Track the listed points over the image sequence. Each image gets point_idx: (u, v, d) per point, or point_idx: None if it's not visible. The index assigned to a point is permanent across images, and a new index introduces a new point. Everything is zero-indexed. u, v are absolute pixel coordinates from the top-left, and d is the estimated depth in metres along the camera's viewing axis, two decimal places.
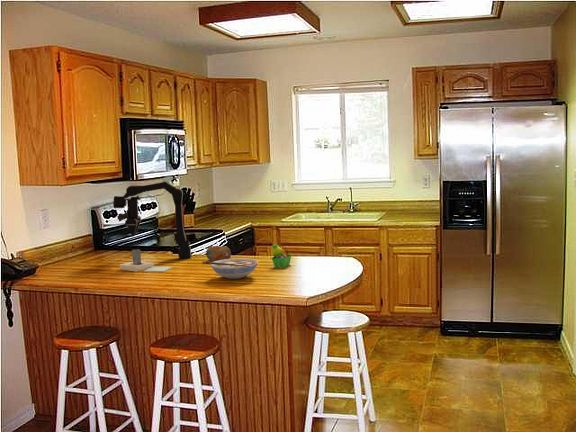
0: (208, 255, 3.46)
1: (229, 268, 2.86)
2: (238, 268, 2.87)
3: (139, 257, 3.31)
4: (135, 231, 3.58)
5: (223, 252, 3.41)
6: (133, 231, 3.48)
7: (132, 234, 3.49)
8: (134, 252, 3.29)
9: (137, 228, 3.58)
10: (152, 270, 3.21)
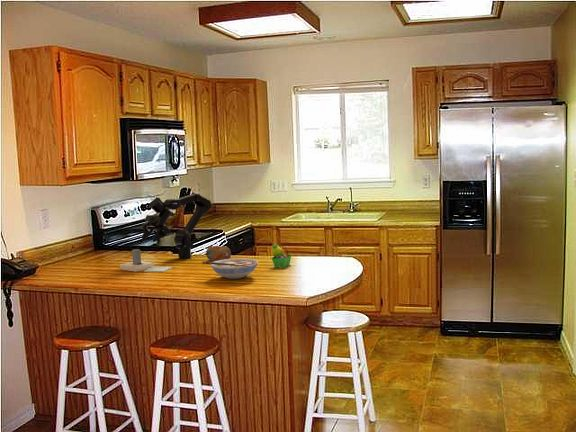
0: (208, 255, 3.46)
1: (229, 268, 2.86)
2: (238, 268, 2.87)
3: (139, 257, 3.31)
4: (144, 238, 3.40)
5: (223, 252, 3.41)
6: (158, 238, 3.35)
7: (155, 240, 3.34)
8: (134, 252, 3.29)
9: None
10: (152, 270, 3.21)
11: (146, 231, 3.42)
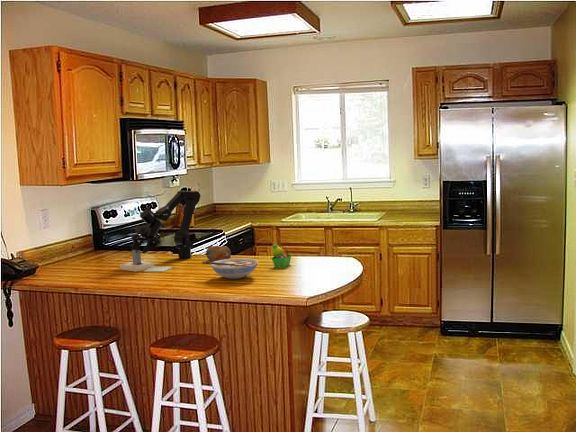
0: (208, 255, 3.46)
1: (229, 268, 2.86)
2: (238, 268, 2.87)
3: (139, 257, 3.31)
4: (134, 249, 3.35)
5: (223, 252, 3.41)
6: (148, 249, 3.30)
7: (144, 251, 3.29)
8: (134, 252, 3.29)
9: None
10: (152, 270, 3.21)
11: (136, 242, 3.37)
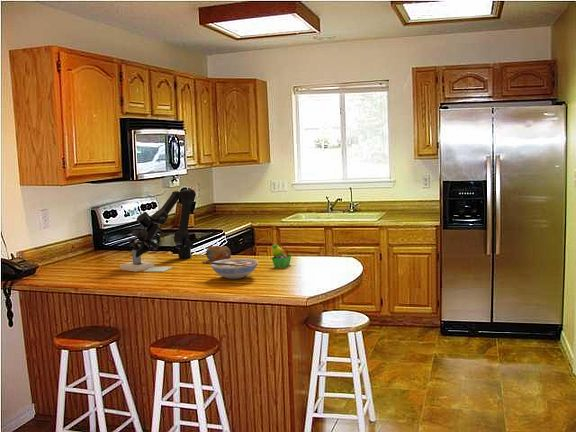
0: (208, 255, 3.46)
1: (229, 268, 2.86)
2: (238, 268, 2.87)
3: (139, 257, 3.31)
4: None
5: (223, 252, 3.41)
6: (141, 253, 3.30)
7: (138, 255, 3.29)
8: (134, 252, 3.29)
9: None
10: (152, 270, 3.21)
11: (136, 246, 3.33)
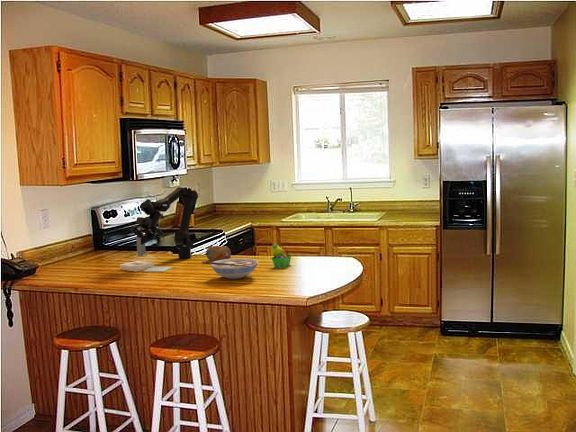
0: (208, 255, 3.46)
1: (229, 268, 2.86)
2: (238, 268, 2.87)
3: (144, 244, 3.28)
4: None
5: (223, 252, 3.41)
6: (146, 240, 3.27)
7: (143, 242, 3.26)
8: (139, 239, 3.26)
9: None
10: (152, 270, 3.21)
11: (140, 234, 3.30)
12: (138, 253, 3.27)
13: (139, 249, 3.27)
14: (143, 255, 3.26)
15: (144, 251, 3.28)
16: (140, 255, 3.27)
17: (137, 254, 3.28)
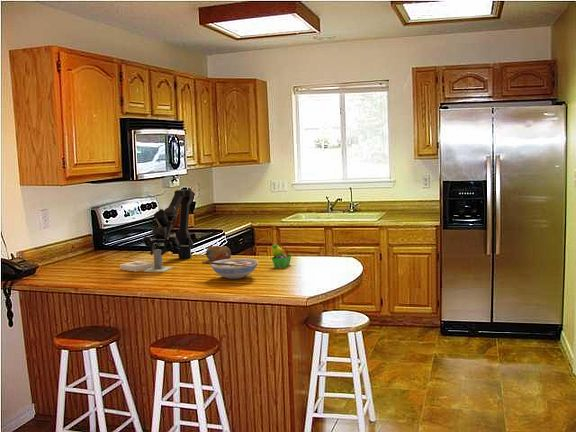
0: (208, 255, 3.46)
1: (229, 268, 2.86)
2: (238, 268, 2.87)
3: (161, 257, 3.25)
4: (152, 252, 3.25)
5: (223, 252, 3.41)
6: (165, 251, 3.24)
7: (163, 253, 3.23)
8: (156, 252, 3.23)
9: None
10: (152, 270, 3.21)
11: (153, 245, 3.27)
12: (155, 266, 3.24)
13: (157, 262, 3.23)
14: (161, 267, 3.24)
15: (161, 263, 3.25)
16: (158, 268, 3.24)
17: (154, 267, 3.24)
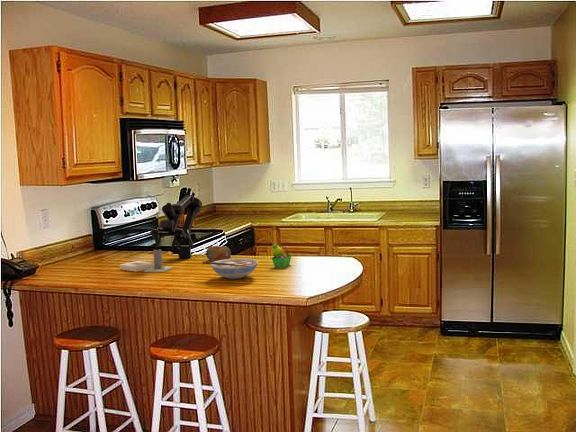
0: (208, 255, 3.46)
1: (229, 268, 2.86)
2: (238, 268, 2.87)
3: (161, 257, 3.25)
4: (157, 244, 3.34)
5: (223, 252, 3.41)
6: (175, 243, 3.33)
7: (173, 245, 3.31)
8: (156, 252, 3.23)
9: (158, 243, 3.36)
10: (152, 270, 3.21)
11: (157, 237, 3.36)
12: (155, 266, 3.24)
13: (157, 262, 3.23)
14: (161, 267, 3.24)
15: (161, 263, 3.25)
16: (158, 268, 3.24)
17: (154, 267, 3.24)
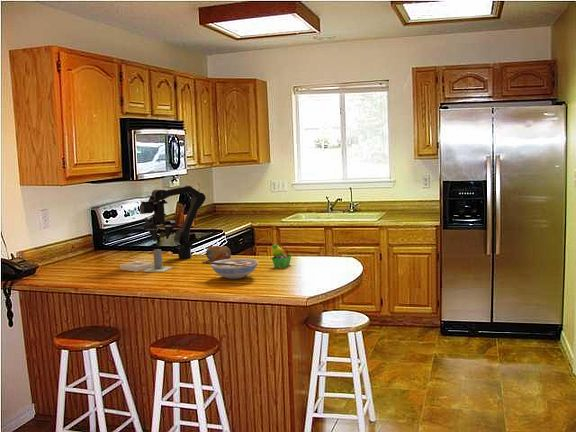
0: (208, 255, 3.46)
1: (229, 268, 2.86)
2: (238, 268, 2.87)
3: (161, 257, 3.25)
4: (167, 236, 3.51)
5: (223, 252, 3.41)
6: (153, 236, 3.43)
7: (153, 239, 3.44)
8: (156, 252, 3.23)
9: (168, 233, 3.50)
10: (152, 270, 3.21)
11: (166, 228, 3.52)
12: (155, 266, 3.24)
13: (157, 262, 3.23)
14: (161, 267, 3.24)
15: (161, 263, 3.25)
16: (158, 268, 3.24)
17: (154, 267, 3.24)
